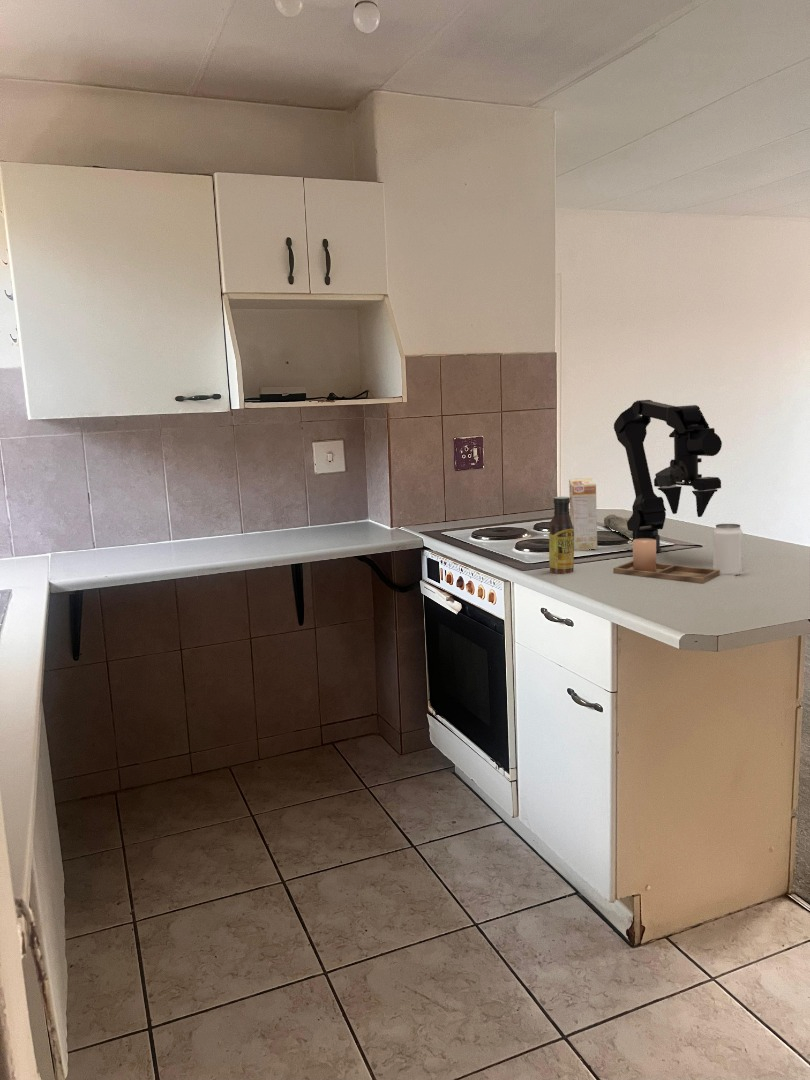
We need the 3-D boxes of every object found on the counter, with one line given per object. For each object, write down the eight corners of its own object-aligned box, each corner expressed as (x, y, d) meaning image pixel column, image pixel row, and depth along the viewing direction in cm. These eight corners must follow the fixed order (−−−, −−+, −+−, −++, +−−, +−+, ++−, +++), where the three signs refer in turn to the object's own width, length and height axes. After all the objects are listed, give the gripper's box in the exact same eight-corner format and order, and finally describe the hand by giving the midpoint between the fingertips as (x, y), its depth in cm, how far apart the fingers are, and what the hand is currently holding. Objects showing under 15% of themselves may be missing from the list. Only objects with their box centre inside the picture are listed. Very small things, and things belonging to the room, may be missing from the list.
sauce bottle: (559, 577, 206) (557, 499, 202) (544, 573, 211) (542, 497, 208) (580, 573, 209) (578, 496, 205) (564, 569, 214) (562, 494, 211)
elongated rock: (630, 549, 242) (663, 548, 242) (631, 532, 241) (664, 531, 241) (596, 524, 276) (625, 524, 276) (597, 509, 275) (626, 508, 275)
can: (740, 570, 201) (741, 523, 199) (742, 576, 195) (743, 527, 193) (713, 570, 203) (713, 523, 201) (713, 576, 197) (714, 527, 195)
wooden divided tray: (613, 575, 204) (613, 568, 204) (632, 567, 211) (632, 560, 211) (702, 586, 189) (702, 578, 188) (720, 577, 196) (720, 569, 195)
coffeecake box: (570, 541, 251) (568, 478, 248) (593, 540, 250) (592, 477, 247) (573, 550, 237) (571, 484, 233) (598, 550, 236) (596, 483, 232)
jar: (629, 572, 204) (628, 541, 202) (639, 568, 208) (639, 537, 206) (649, 575, 200) (649, 543, 198) (660, 570, 204) (660, 539, 202)
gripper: (636, 456, 213) (638, 515, 216) (687, 458, 196) (688, 522, 199) (670, 453, 217) (671, 511, 220) (722, 454, 200) (723, 517, 203)
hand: (686, 515), depth 210 cm, fingers open, 9 cm apart
